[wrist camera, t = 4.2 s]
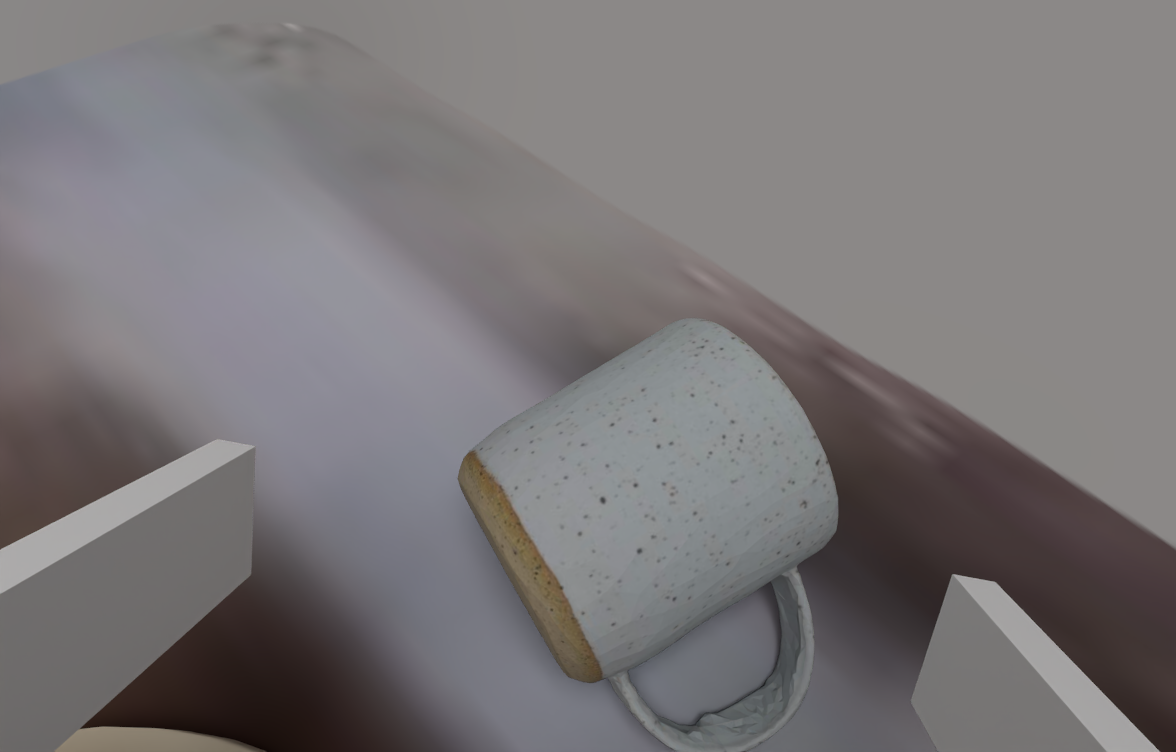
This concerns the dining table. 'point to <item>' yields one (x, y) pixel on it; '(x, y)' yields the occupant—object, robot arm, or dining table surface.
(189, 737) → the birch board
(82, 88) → the dining table surface
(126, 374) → the dining table surface
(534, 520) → the ceramic mug
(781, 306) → the dining table surface
